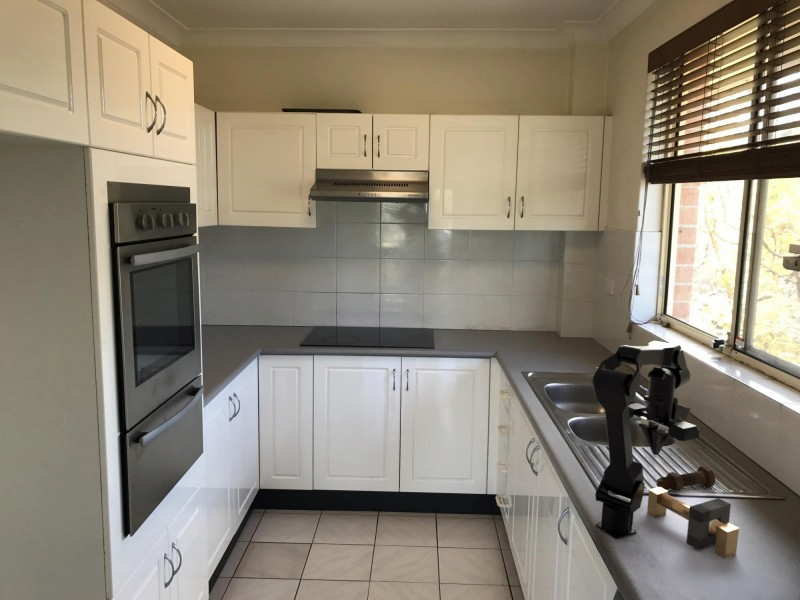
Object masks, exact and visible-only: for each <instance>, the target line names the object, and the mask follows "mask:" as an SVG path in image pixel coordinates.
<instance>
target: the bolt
mask: <svg viewBox="0 0 800 600" xmlns="http://www.w3.org/2000/svg"><path fill="white" fill-rule="evenodd" d="M715 484H716V476H715V473H714V472H713V470H712V469H711V467H708V466H707V465H699V467H698V468H697V470H695V472H687V473H683V474H679V473H677V472H676V471H671V472H668V474H666V476H662V477H661V476H660V477H659V478H658V479H656V488H658V487H661V488H663V489H665V490H667V491H668V490H670V491H672V490H674V491H673V492H675V491H677V492H680V491H682V489H683V488H686V487H693V486H698V485H701V486H703V487H705V488H706V489H711V488H712V487H714V485H715Z"/></svg>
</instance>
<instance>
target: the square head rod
mask: <svg viewBox="0 0 800 600" xmlns="http://www.w3.org/2000/svg"><path fill="white" fill-rule="evenodd" d="M690 506H691V505H689V504H687V503H685V502H683V501H681V500H679V499H677V498H675V497H674V496H672V495H670V494H669V491H668V490H665V489H663V488H661V487H654V488H651V489H649V490H648V499H647V509H646V514H647V515H649V516H650V517H652V518H653V519H658V518H661V517H664V516H667V510H669V511H670V512H672V513H674V514H676V515H677V516H679V517H681V518H684V519H685V520H687V521H689V511H690ZM739 531H740V528H739V527H738V526H735V524H734V525H733V524H732V523H730V522H729V523H726V524H723V523H721V522H719V521H718V520H717V519H714V520H711V521H710V522H709V533H711V534H714V535H716V543H715V545H714V554H716V555H717V556H719V557H721V558H722V559H724V560H726V559H729V558H731V557H733V556H736V555H737V549H738V541H739V533H740V532H739Z"/></svg>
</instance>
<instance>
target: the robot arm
mask: <svg viewBox="0 0 800 600" xmlns="http://www.w3.org/2000/svg"><path fill="white" fill-rule="evenodd" d="M622 364H625V365H630V366H635V367H636V368H635V369H636V370H635V372H634V374H632V373H630V372H625V371H620V370H616V369H617V368H619V367H620V366H621V365H622ZM643 365H645V366H646V365H652V366H654V367H652V369H651V370H650V371H649V372H648V373H647V377H648V378H649V381H648V392H647V395H644V397H643V400H644V401H646V402H647V403H646V404H647V405H643V404H640V403H638V402H636V403H632V402H633V400H634V399H635V398H636V396H637V391H638V390H639V388H640V386H641V384H642V383H643V375H642V371H641V368H642V367H643ZM656 366H657V367H656ZM690 380H691V372H690V369H689V368H688V365H687V362H686V357H685V353H684V351H683V349H682V346H681V345H679V344H676V343H671V342H670V343H669V342H665V341H658V340H652V341H650V342H648V343H646V345H626V344H625V345H620V346H619V347H618V348H617V350H616V351H615V353H613V354H612V355H611V356H609V357H608V358H605V359H604V360H603V361H601V363H600V365H599V366H598V368H597V369H596V371H595V373H594V375H593V376H592V381H591V382H592V386H593V391H594V395H595V399H596V400H597V401H598V403H599V404H600V405H601V407H602V408H603V410H604V414H605V423H606V435H607V444H608V446H607V447H608V454H609V464H608V465H607V467H606V468H605V470H604V471H603V475H602V478H601V481H599V485H598V487H597V489H596V492H595V494H594V496H595V501H597V502H600V503H602V508H601V521H599V522H596V523H595V526H596V527H597V528H599V529H600V530H602V531H603V532H605V533H607V534H608V535H609V536H611V537H612V536H613V537H612V538H614V539H616V540H617V539H618V540H619V539H621V538H625V537H629V536H631V535H634V534H637V532H638V530H637V529H636V528H634V527H633V523H634V522H633V521H634V513H635V512H636V511H638V510H639V509H640V508H641V506H642V501H643V497H644V493H645V489H646V488H645V487H646V485H645V482H644V479H645V476H644V466H643V464H642V463H641V462H637V461H635V460H634V453H633V444H632V431H631V429H632V428H631V420H632V419H633V418H634V416H635V417H638V418H640V423H639V424H638V427H639V428H640V429H641V430H642V433H643V435H644V436H645V438H646V440H647V444H648V446H649V448H650V450H651V452H652V454H653V455H655V456H657V455H659V454H660V452H661V451H662V448H663V447H664V445H665V443H666V441H667V440H668V438H669V437H671V438H672V439H675V440H677V441H680V442H687V441H691V440H695V439H696V440H697V439H699V438H700V428H699V427H698V426H697V425H696V424H693V423H689V422H687V419H688V417H689V414H690V412H691V408H690V407H687V406H684V405H682V404H679V401H678V398H677V397H675V390H676V389H678V388H680V387H682V386H684V385H687V383H688V382H689V381H690ZM679 418H680V419H682V420H684V421H678V422H675V421H676V420H679ZM673 420H674V421H673Z"/></svg>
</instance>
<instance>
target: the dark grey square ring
mask: <svg viewBox="0 0 800 600" xmlns="http://www.w3.org/2000/svg"><path fill="white" fill-rule="evenodd" d="M689 506H690V511H689V521H688V520H687V521H688V522H687V531H686V542H685V543H686V544H687V545H688V546H690V547H692V548H693V549H696V550H697V551H701V550H704V549H707V548H709V547H712V546H715V543H716V535H714V534H711V533H709V522H710V521H711V520H714V519H717V520H718V521H719V522H721V523H723V524H726V523H730V516H731V506H732V505H731V503H729V502H728V501H725V500H723V499H721V498H720V497H718V498H715V499H710V500H708V501H704V502H701V503H697V504H694V505H689Z"/></svg>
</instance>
